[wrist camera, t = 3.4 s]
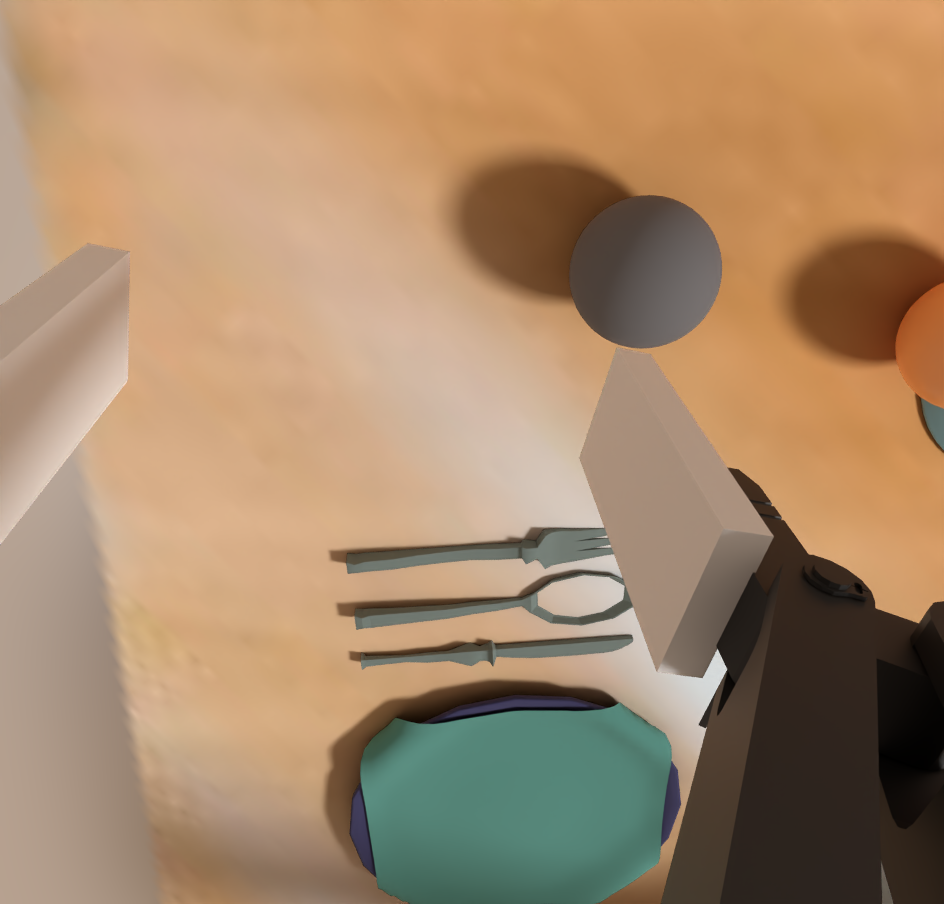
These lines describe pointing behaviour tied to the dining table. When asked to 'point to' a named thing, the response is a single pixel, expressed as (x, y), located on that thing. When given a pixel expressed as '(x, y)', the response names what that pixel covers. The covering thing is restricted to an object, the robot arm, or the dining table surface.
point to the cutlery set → (511, 765)
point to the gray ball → (645, 271)
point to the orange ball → (923, 346)
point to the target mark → (934, 421)
